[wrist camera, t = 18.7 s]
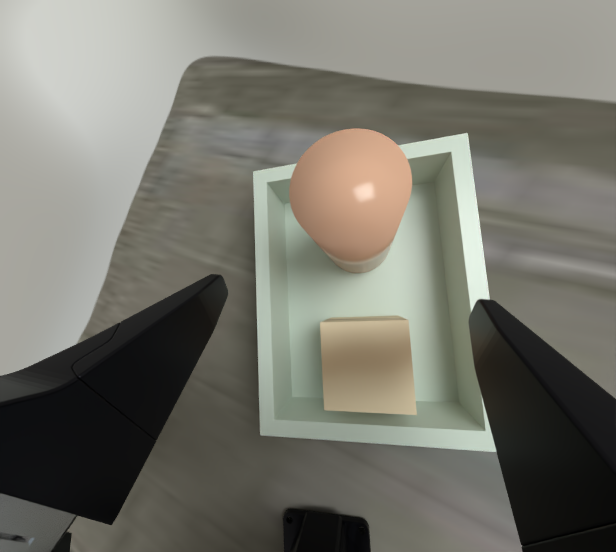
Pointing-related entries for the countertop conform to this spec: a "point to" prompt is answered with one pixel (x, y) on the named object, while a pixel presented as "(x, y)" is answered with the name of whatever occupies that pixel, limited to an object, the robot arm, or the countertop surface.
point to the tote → (376, 308)
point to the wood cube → (367, 365)
